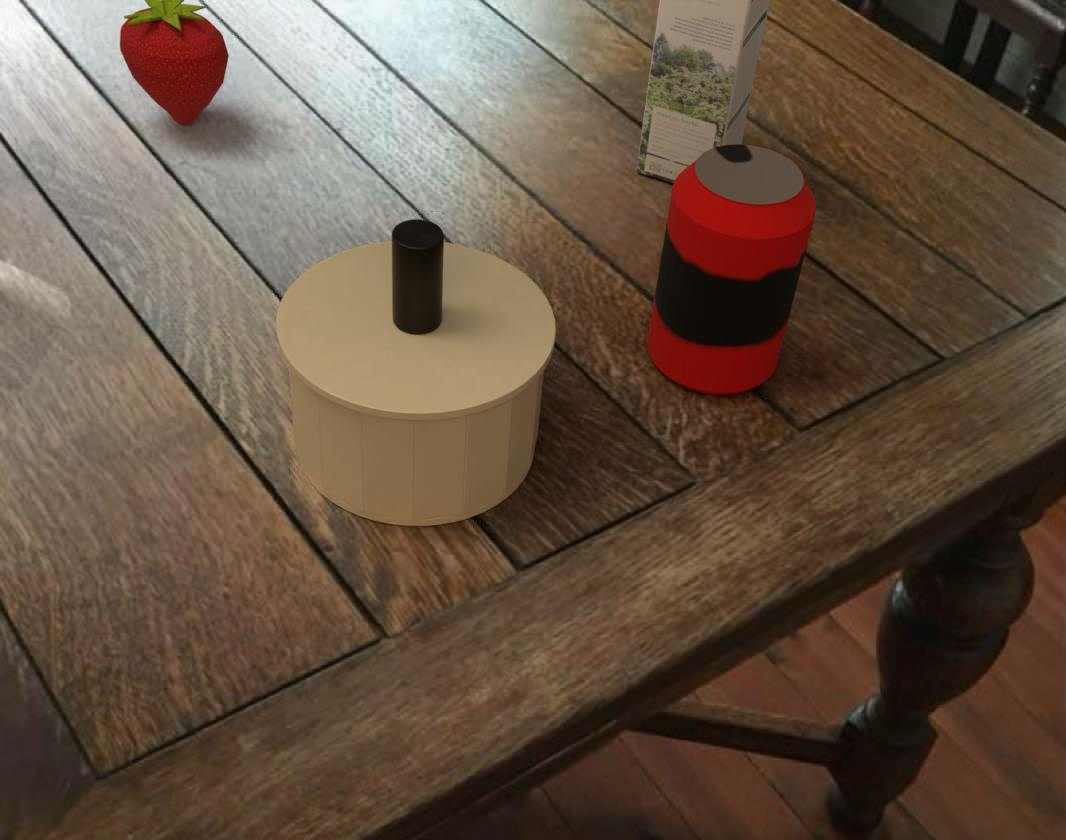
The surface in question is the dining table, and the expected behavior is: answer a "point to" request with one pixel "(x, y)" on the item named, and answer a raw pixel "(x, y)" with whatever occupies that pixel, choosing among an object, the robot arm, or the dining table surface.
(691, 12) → the syrup box
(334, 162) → the dining table surface
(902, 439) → the dining table surface
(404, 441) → the pot
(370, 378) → the lid
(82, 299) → the dining table surface
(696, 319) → the soda can
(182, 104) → the strawberry
